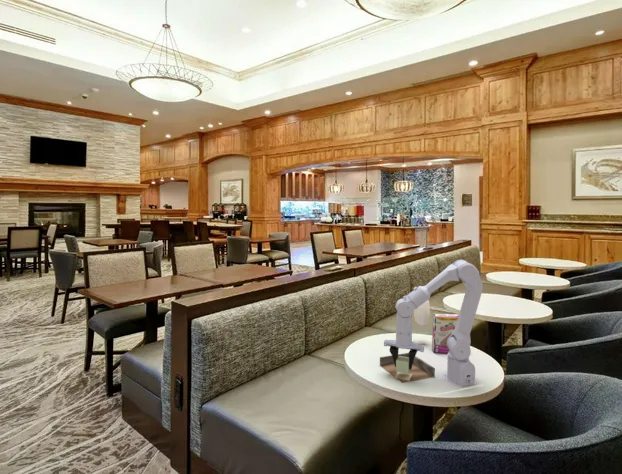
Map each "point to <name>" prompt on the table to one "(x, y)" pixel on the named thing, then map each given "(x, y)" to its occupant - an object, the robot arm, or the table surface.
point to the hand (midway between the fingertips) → (403, 367)
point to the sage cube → (402, 364)
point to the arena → (416, 373)
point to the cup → (422, 313)
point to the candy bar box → (442, 331)
